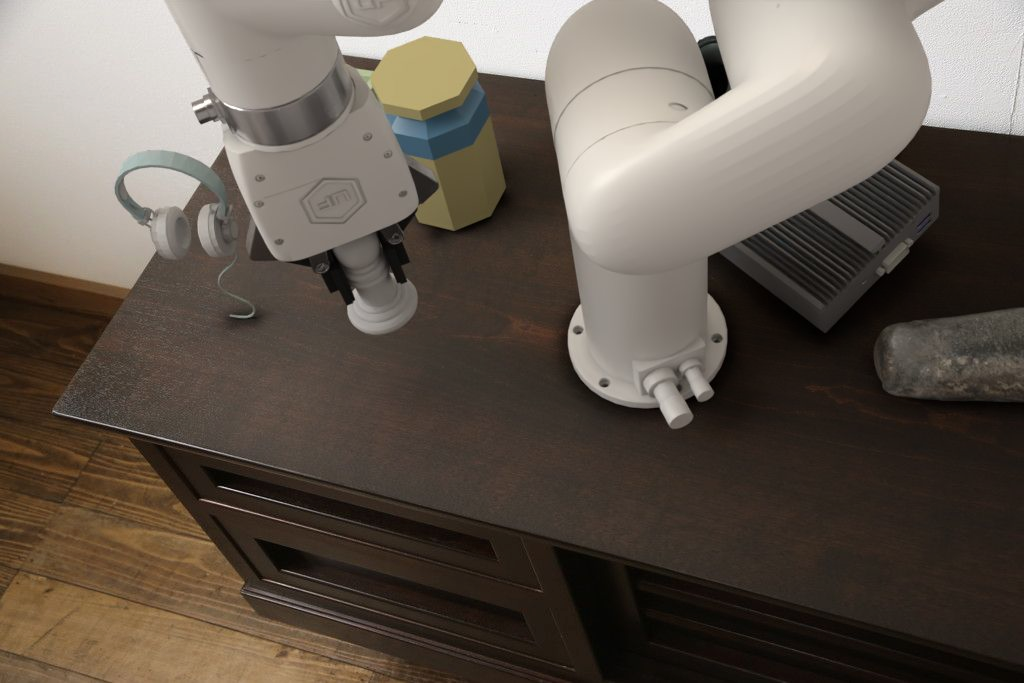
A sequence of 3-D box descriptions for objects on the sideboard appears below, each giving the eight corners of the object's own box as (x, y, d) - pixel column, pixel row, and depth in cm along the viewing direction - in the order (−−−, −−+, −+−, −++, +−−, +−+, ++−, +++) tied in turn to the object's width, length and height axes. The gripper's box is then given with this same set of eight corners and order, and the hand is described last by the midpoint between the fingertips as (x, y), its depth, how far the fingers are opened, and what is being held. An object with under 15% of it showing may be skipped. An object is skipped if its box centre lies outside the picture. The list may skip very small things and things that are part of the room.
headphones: (295, 297, 95) (209, 134, 78) (287, 334, 93) (197, 174, 76) (206, 301, 96) (103, 141, 80) (196, 337, 94) (88, 181, 77)
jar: (411, 165, 102) (371, 40, 89) (507, 155, 101) (480, 27, 88) (405, 240, 96) (361, 118, 84) (507, 231, 95) (477, 106, 83)
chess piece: (395, 266, 82) (360, 187, 74) (433, 308, 79) (400, 230, 72) (336, 306, 81) (295, 230, 73) (373, 350, 78) (333, 276, 70)
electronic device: (798, 126, 92) (792, 91, 88) (945, 220, 85) (946, 188, 80) (692, 233, 92) (681, 204, 88) (831, 338, 84) (825, 312, 80)
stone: (848, 359, 83) (922, 452, 76) (857, 317, 80) (936, 409, 73) (1002, 318, 86) (1088, 404, 79) (1017, 276, 83) (1108, 360, 76)
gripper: (158, 182, 59) (274, 362, 74) (437, 76, 60) (496, 274, 75) (139, 98, 64) (252, 284, 79) (400, 0, 65) (463, 202, 80)
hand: (371, 278), depth 77 cm, fingers closed on chess piece, 3 cm apart
